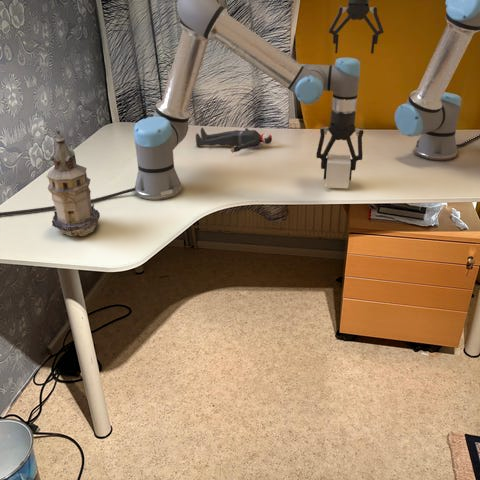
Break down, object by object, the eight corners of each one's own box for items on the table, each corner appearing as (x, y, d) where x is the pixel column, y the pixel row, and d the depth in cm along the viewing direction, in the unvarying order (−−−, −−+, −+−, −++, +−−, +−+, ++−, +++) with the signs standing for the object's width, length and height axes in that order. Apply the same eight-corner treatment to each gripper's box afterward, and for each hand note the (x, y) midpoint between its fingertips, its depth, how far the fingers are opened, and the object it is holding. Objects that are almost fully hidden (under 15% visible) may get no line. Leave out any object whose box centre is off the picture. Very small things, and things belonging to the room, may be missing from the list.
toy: (206, 121, 227) (276, 121, 221) (207, 135, 230) (276, 136, 224) (189, 141, 205) (266, 142, 199) (190, 156, 208) (267, 158, 202)
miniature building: (80, 214, 164) (63, 117, 149) (111, 225, 157) (96, 125, 142) (44, 231, 154) (22, 130, 140) (75, 244, 147) (55, 139, 133)
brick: (347, 179, 182) (350, 155, 178) (348, 188, 175) (350, 163, 171) (325, 178, 183) (327, 154, 179) (325, 187, 176) (327, 162, 172)
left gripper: (375, 108, 169) (367, 175, 180) (311, 105, 171) (306, 172, 183) (377, 115, 162) (368, 184, 174) (310, 112, 165) (306, 181, 176)
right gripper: (393, -9, 198) (386, 51, 208) (324, -9, 201) (321, 50, 211) (395, -7, 191) (388, 55, 202) (324, -7, 195) (321, 54, 205)
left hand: (337, 178), depth 178 cm, fingers closed on brick, 7 cm apart
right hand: (354, 52), depth 207 cm, fingers open, 13 cm apart
